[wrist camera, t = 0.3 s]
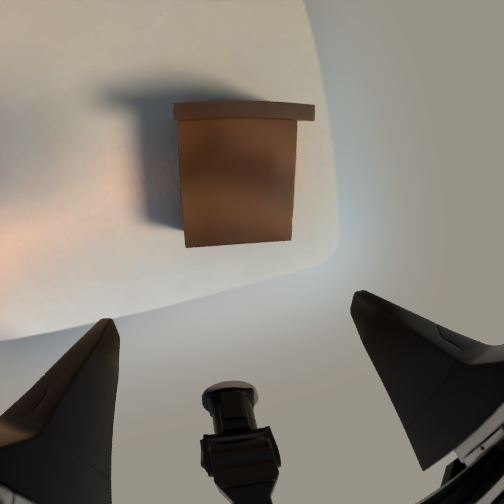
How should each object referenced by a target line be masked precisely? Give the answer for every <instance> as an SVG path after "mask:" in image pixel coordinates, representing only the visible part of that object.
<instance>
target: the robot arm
mask: <svg viewBox="0 0 504 504" xmlns="http://www.w3.org/2000/svg"><path fill="white" fill-rule="evenodd" d="M350 311H351V316H352V318H353V321H354V323H355V325H356V328H357V330H358V333H359V335H360V338H361V340H362V343H363V345H364V347H365V349H366V351H367V353H368V355H369V357H370V359H371V361H372V362H373V365H374V367H375V369H376V371H377V372H378V374H379V377H380V378H381V381H382V382H383V385H384V386H385V389H386V391H387V393H388V395H389V397H390V399H391V401H392V403H393V405H394V407H395V409H396V412H397V414H398V416H399V418H400V420H401V422H402V424H403V427H404V429H405V431H406V434H407V436H408V438H409V440H410V443H411V445H412V447H413V450H414V452H415V454H416V457H417V459H418V461H419V464H420V466H421V468H422V470H423V471H425V470H426V469H428V468H430V467H431V466H433V465H434V464H436V463H437V462H438V461H440V460H442V459H443V458H444V457H446V456H447V455H449V454H450V453H451V452H452V451H455V453H456V454H457V456H458V458H457V459H455V460H454V461H453V462H451V463H450V464H449V465H447V466H446V469H445V473H444V476H443V480H442V483H441V487H440V488H439V489H437V490H436V491H434V492H433V493H431V494H430V495H428V496H427V497H425V498H424V499H422V500H421V501H419V502H417V503H416V504H504V344H503V345H497V346H491V345H486V344H484V343H481V342H479V341H476V340H473V339H471V338H468V337H466V336H463V335H461V334H458V333H456V332H453V331H451V330H449V329H447V328H445V327H442V326H440V325H438V324H435V323H434V322H432V321H430V320H428V319H425V318H423V317H421V316H419V315H417V314H415V313H412V312H411V311H408V310H406V309H404V308H402V307H400V306H398V305H396V304H393V303H391V302H389V301H387V300H385V299H383V298H381V297H378V296H376V295H374V294H372V293H370V292H367V291H365V290H362V291H357V292H355V293H354V296H353V300H352V304H351V309H350ZM119 349H120V337H119V334H118V331H117V329H116V326H115V324H114V321H113V320H112V319H111V318H104V319H101V320H99V321H98V322H97V323H96V324H95V325H94V326H93V327H92V328H91V329H90V330H89V331H88V332H87V333H86V334H85V335H84V336H83V337H82V338H81V339H80V340H78V342H76V343H75V344H74V345H73V346H72V347H71V348H70V349H69V350H68V351H67V352H66V353H65V354H64V355H63V356H62V357H61V358H60V359H59V360H58V361H57V362H56V363H55V364H54V365H53V366H52V367H51V368H50V369H49V370H48V371H47V372H46V373H45V376H42V377H41V378H40V380H39V381H38V382H37V383H36V384H35V385H34V386H33V387H32V388H31V389H30V390H28V391H27V392H26V394H24V395H23V396H22V397H21V398H20V399H19V400H18V401H17V402H15V403H14V404H13V405H12V406H11V407H10V408H9V409H8V410H6V411H5V412H4V413H3V414H2V415H1V416H0V504H112V498H111V480H110V479H111V454H112V453H111V452H112V435H113V421H114V411H115V401H116V392H117V384H118V374H119ZM206 399H207V403H208V408H209V412H210V416H211V417H212V418H213V425H214V432H215V434H212V435H207V434H205V435H203V439H202V440H200V444H201V467H203V468H204V469H205V470H206V472H207V473H208V476H209V477H214V482H215V484H216V486H217V488H218V490H219V492H220V493H221V494H222V495H223V496H224V497H225V498H226V499H227V500H228V501H229V502H230V503H231V504H272V500H271V496H272V494H273V491H274V489H275V486H276V483H277V480H278V475H279V470H278V468H279V467H281V460H280V454H279V451H278V447H277V445H276V442H275V440H274V437H273V434H272V432H271V429H270V426H267V427H265V428H259V429H258V428H257V425H256V420H255V416H254V412H253V408H254V390H253V388H245V389H237V390H228V391H219V392H208V393H206Z"/></svg>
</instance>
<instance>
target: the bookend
mask: <svg viewBox="0 0 504 504" xmlns="http://www.w3.org/2000/svg"><path fill="white" fill-rule="evenodd" d="M174 120H175V121H178V145H179V169H180V186H181V201H182V214H183V226H184V236H185V246H186V248H192V247H205V246H218V245H232V244H246V243H260V242H274V241H289V240H291V237H292V223H293V207H294V190H295V170H296V145H297V121H314V120H315V105H309V104H299V103H287V102H271V101H198V102H182V103H174Z"/></svg>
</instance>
